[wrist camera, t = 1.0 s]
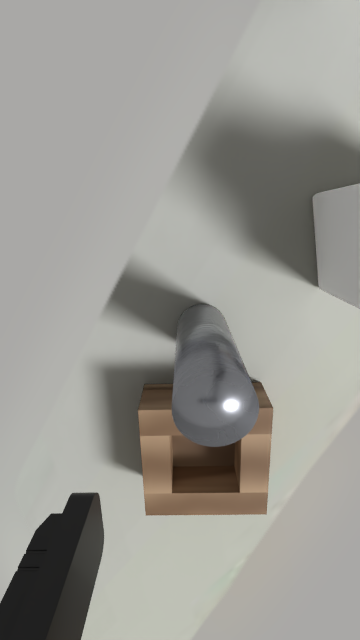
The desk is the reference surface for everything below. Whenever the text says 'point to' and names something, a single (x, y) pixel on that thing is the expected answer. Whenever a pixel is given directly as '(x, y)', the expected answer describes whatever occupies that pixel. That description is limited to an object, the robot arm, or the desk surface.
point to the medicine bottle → (338, 242)
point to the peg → (210, 381)
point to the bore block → (201, 462)
